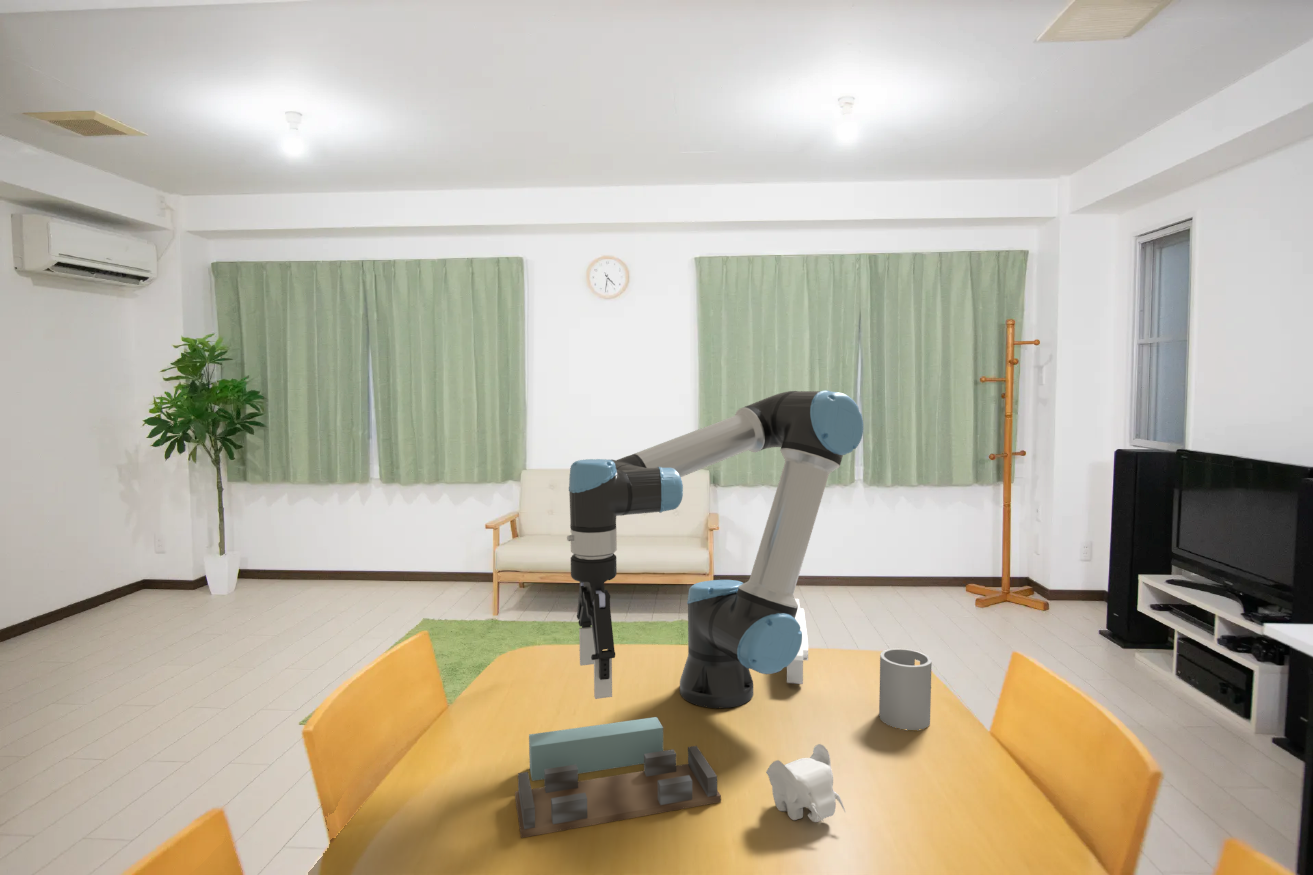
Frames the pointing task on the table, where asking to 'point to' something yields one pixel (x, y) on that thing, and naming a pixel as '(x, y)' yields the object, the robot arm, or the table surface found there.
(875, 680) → the table surface
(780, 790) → the elephant figurine
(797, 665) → the shelf bracket
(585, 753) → the rail
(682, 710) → the table surface
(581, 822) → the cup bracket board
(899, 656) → the cup
